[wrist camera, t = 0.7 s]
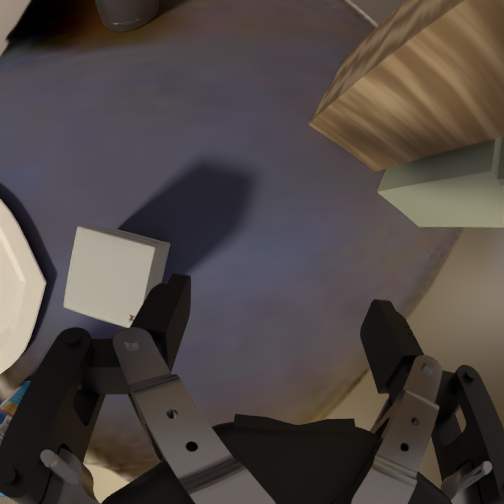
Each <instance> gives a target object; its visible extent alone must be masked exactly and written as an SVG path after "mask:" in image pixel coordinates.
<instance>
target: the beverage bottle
mask: <svg viewBox="0 0 504 504" xmlns="http://www.w3.org/2000/svg"><path fill="white" fill-rule="evenodd" d="M30 382H31V381H24V382H22V383H21V384H20V385H19V386H18V387H17V388H16V389H15V391H14V392H13V393H12V394H11V395H10V396H9V397H8V398H7V399H6V400H5V401H4V402H3V403H2V404H1V405H0V444H1V441H2V439H3V437H4V434H5V432H6V430H7V428H8V425H9V423H10V421H11V419H12V417H13V415H14V413H15V411H16V409H17V407H18V405H19V403H20V401H21V399H22V397H23V395H24V393H25V391H26V389H27V388H28V386H29V384H30ZM0 497H5V495H4V494H2V493H1V492H0Z"/></svg>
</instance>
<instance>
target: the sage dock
mask: <svg viewBox="0 0 504 504" xmlns="http://www.w3.org/2000/svg"><path fill="white" fill-rule="evenodd" d="M377 193H379V194H380V195H381V196H383V197H384V198H385V199H386V200H388V201H389V202H390V203H391V204H393V205H394V206H395V207H396V208H397V209H399V210H400V211H401V212H402V213H403V214H405V215H406V216H407V217H408V218H409V219H411V220H412V221H413V222H414V223H415V224H416V225H418V226H419V227H504V137H500V138H496V139H491V140H487V141H484V142H480V143H476V144H472V145H468V146H464V147H461V148H457V149H453V150H449V151H446V152H442V153H438V154H435V155H431V156H428V157H424V158H421V159H417V160H414V161H410V162H407V163H404V164H400V165H397V166H393V167H390V168H387V169H386V171H385V173H384V176H383V178H382V181H381V183H380V185H379V188H378V190H377Z"/></svg>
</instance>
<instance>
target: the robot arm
mask: <svg viewBox="0 0 504 504" xmlns="http://www.w3.org/2000/svg"><path fill="white" fill-rule="evenodd" d="M95 2H96V5H97V8H98V11H99V14H100V16H101V19H102V22H103V24H104V26H105V27H106V28H107V29H109V30H111V31H118V32H122V31H129V30H133V29H136V28H138V27H141V26H143V25H145V24H146V23H148V22H149V21H151V20H152V19H153V18H154V17H155V16H156V14H157V13H158V10H159V0H95ZM190 305H191V277H190V276H186V275H180V274H172V276H171V278H170V280H169V282H168V284H162V283H159V284H158V285H156V286H155V287H153V288H152V289H151V290H150V292H149V294H148V295H147V298H146V299H145V301H144V302H143V305H142V306H141V308H140V309H139V311H138V313H137V315H136V317H135V319H134V320H133V322H132V324H131V326H130V328H126V329H123V330H121V331H119V332H118V333H117V334H116V335H115V336H114V338H113V339H91V336H90V334H89V333H88V331H86V330H85V329H82V328H77V327H74V328H69V329H66V330H64V331H63V332H61V333H60V334H59V335H58V337H57V338H56V340H55V341H54V343H53V344H52V346H51V348H50V349H49V351H48V353H47V354H46V356H45V358H44V359H43V361H42V363H41V364H40V366H39V368H38V370H37V371H36V373H35V375H34V377H33V378H32V380H31V382H30V384H29V386H28V388H27V389H26V391H25V393H24V395H23V397H22V399H21V401H20V403H19V405H18V407H17V409H16V411H15V413H14V415H13V417H12V419H11V421H10V423H9V425H8V428H7V430H6V432H5V434H4V437H3V439H2V441H1V444H0V492H1V493H2V494H4V495H5V496H7V497H9V498H10V499H12V500H14V501H15V502H17V503H18V504H100V503H99V502H98V501H97V499H96V498H95V496H94V492H93V483H94V482H93V477H92V475H91V473H90V471H89V470H88V469H87V468H86V467H85V466H84V464H83V461H84V457H85V454H86V451H87V448H88V444H89V441H90V438H91V435H92V432H93V429H94V426H95V423H96V420H97V417H98V415H99V412H100V409H101V406H102V403H103V401H104V398H105V395H106V394H128V397H129V399H130V401H131V404H132V406H133V408H134V410H135V413H136V415H137V417H138V419H139V421H140V423H141V426H142V428H143V430H144V432H145V434H146V436H147V439H148V441H149V443H150V445H151V447H152V449H153V451H154V453H155V455H156V457H157V459H158V460H159V462H160V463H159V464H157V465H156V466H154V467H153V468H152V469H150V470H149V471H147V472H146V473H144V474H143V475H141V476H140V477H138V478H137V479H135V480H134V481H132V482H130V483H129V484H127V485H126V486H124V487H123V488H121V489H119V490H118V491H116V492H115V493H113V494H111V495H110V496H108V497H107V498H106V499H105V500H104V501H103V502H102V503H101V504H504V429H503V426H502V424H501V421H500V419H499V416H498V414H497V412H496V410H495V407H494V405H493V403H492V401H491V398H490V396H489V394H488V392H487V390H486V387H485V385H484V384H483V382H482V379H481V377H480V375H479V374H478V372H477V371H476V370H475V369H474V368H472V367H470V366H468V365H462V366H460V367H459V368H458V369H457V370H456V372H455V373H452V372H447V371H443V370H442V367H441V365H440V364H439V363H438V361H437V360H435V359H434V358H432V357H430V356H427V355H424V354H423V352H422V350H421V348H420V346H419V344H418V342H417V340H416V338H415V336H414V335H413V332H412V330H411V329H410V327H409V325H408V323H407V321H406V319H405V318H404V317H403V316H402V315H401V314H399V313H398V312H396V310H395V308H394V307H393V305H392V303H391V302H390V301H387V300H377V299H375V300H373V301H372V303H371V305H370V308H369V310H368V312H367V315H366V317H365V319H364V322H363V324H362V326H361V331H360V337H361V341H362V344H363V347H364V350H365V353H366V356H367V359H368V362H369V365H370V368H371V371H372V374H373V378H374V380H375V384H376V387H377V391H378V393H379V394H382V393H389V398H388V399H387V400H386V402H385V404H384V406H383V408H382V410H381V412H380V414H379V416H378V418H377V419H376V421H375V423H374V425H373V427H372V429H371V430H370V431H367V430H365V429H362V428H359V427H355V422H354V419H326V420H322V421H317V422H313V423H308V424H303V425H294V424H290V423H286V422H282V421H278V420H275V419H271V418H268V417H260V416H249V415H240V414H235V418H234V422H229V423H223V424H219V425H216V426H213V427H211V426H210V424H209V423H208V421H207V420H206V418H205V417H204V415H203V414H202V412H201V411H200V409H199V408H198V406H197V405H196V403H195V402H194V400H193V398H192V397H191V395H190V394H189V392H188V391H187V389H186V387H185V386H184V384H183V382H182V381H181V379H180V378H179V377H178V375H176V374H175V375H172V374H171V371H172V368H173V365H174V362H175V358H176V355H177V352H178V349H179V346H180V343H181V340H182V337H183V334H184V331H185V328H186V325H187V322H188V319H189V314H190ZM460 408H461V409H462V411H463V414H464V417H465V420H466V427H465V430H464V431H463V432H462V433H461V430H460V427H459V424H458V421H457V418H456V415H455V414H456V413H457V411H458V410H459V409H460ZM430 437H432V441H433V445H434V448H435V453H436V457H437V461H438V465H439V469H440V474H441V479H442V485H441V490H440V489H439V488H437V487H436V486H435V485H434V484H433V483H431V482H430V481H429V480H428V479H427V478H425V477H424V476H423V475H422V474H421V473H419V472H418V469H419V467H420V464H421V462H422V459H423V456H424V454H425V451H426V448H427V446H428V443H429V440H430Z"/></svg>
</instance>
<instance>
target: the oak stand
mask: <svg viewBox="0 0 504 504" xmlns="http://www.w3.org/2000/svg"><path fill="white" fill-rule="evenodd" d="M309 125H310V126H312V127H313V128H315V129H316V130H318V131H319V132H321V133H322V134H324V135H325V136H327V137H328V138H330V139H331V140H333V141H334V142H335V143H337V144H338V145H340V146H341V147H343V148H344V149H345V150H347V151H348V152H349V153H351V154H352V155H354V156H355V157H356V158H358V159H359V160H360V161H362V162H363V163H364V164H366V165H367V166H368V167H369V168H371V169H372V170H373V171H375V172H377V171H380V170H383V169H387V168H390V167H393V166H397V165H400V164H404V163H407V162H410V161H414V160H417V159H421V158H424V157H428V156H431V155H435V154H438V153H442V152H446V151H449V150H453V149H457V148H461V147H464V146H468V145H472V144H476V143H480V142H484V141H487V140H491V139H496V138H500V137H504V0H406V1H405V2H404V3H403V4H402V5H401V6H400V7H398V8H397V9H396V10H395V11H394V12H393V13H392V14H391V15H390V16H389V17H388V18H387V19H385V20H384V21H383V22H382V23H381V24H380V25H379V26H378V27H377V28H376V29H375V30H374V31H373V32H372V33H371V34H370V35H369V36H368V37H367V38H366V39H365V40H364V41H363V42H362V43H361V44H360V45H359V46H358V47H357V48H356V49H355V50H354V51H353V52H352V53H351V54H350V55H349V56H348V57H347V58H346V59H345V60H344V62H343V63H342V65H341V67H340V69H339V70H338V72H337V74H336V76H335V78H334V79H333V81H332V83H331V85H330V86H329V88H328V90H327V92H326V93H325V95H324V97H323V99H322V101H321V102H320V104H319V106H318V108H317V109H316V111H315V113H314V115H313V117H312V118H311V120H310V122H309Z"/></svg>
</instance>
